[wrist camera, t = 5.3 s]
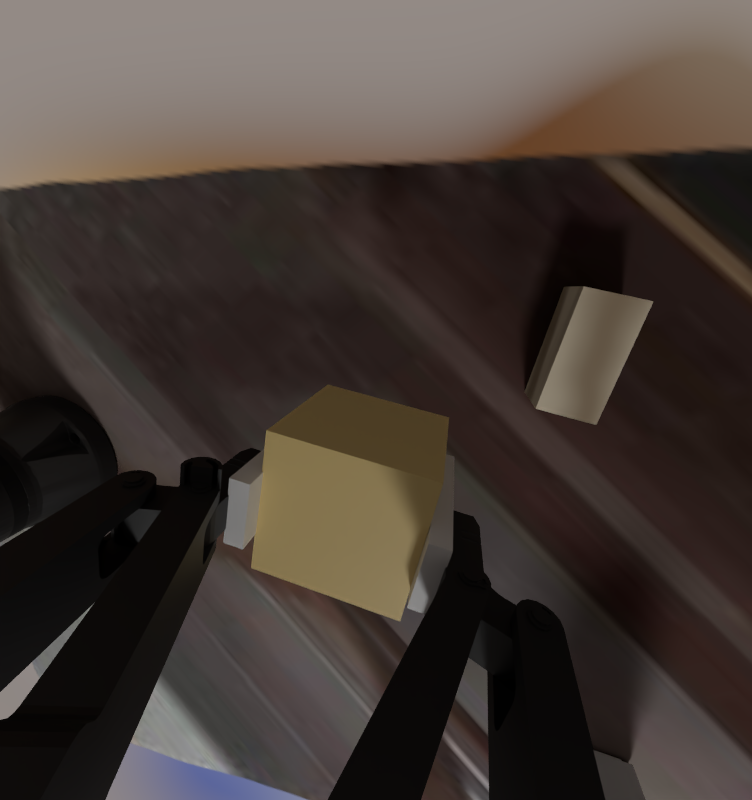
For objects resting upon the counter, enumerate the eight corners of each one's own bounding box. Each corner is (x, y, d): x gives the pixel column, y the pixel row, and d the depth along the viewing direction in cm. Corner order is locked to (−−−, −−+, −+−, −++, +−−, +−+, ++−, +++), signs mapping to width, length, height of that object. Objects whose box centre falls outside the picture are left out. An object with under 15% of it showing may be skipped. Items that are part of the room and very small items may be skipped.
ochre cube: (310, 487, 20) (251, 567, 14) (328, 384, 18) (266, 430, 12) (417, 521, 19) (400, 621, 13) (448, 417, 17) (443, 483, 11)
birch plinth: (524, 391, 32) (535, 408, 27) (563, 286, 29) (583, 286, 24) (575, 404, 31) (596, 424, 26) (621, 299, 28) (653, 301, 24)
